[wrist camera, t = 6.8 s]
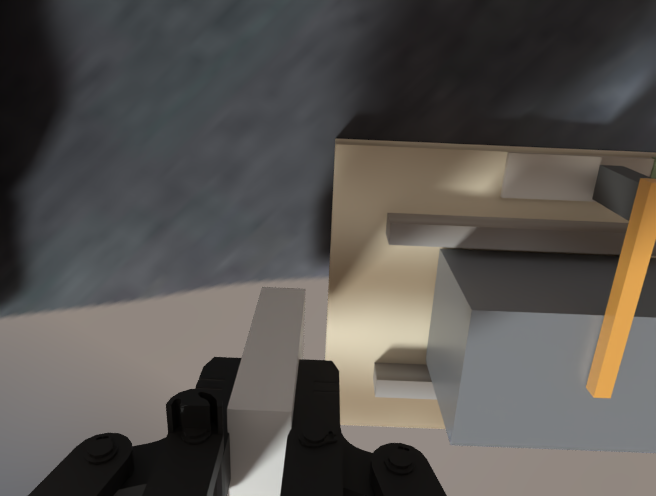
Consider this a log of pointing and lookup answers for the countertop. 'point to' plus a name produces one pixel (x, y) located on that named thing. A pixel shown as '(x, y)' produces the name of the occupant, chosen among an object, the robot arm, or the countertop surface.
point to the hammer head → (617, 188)
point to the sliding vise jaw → (549, 344)
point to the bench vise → (441, 233)
